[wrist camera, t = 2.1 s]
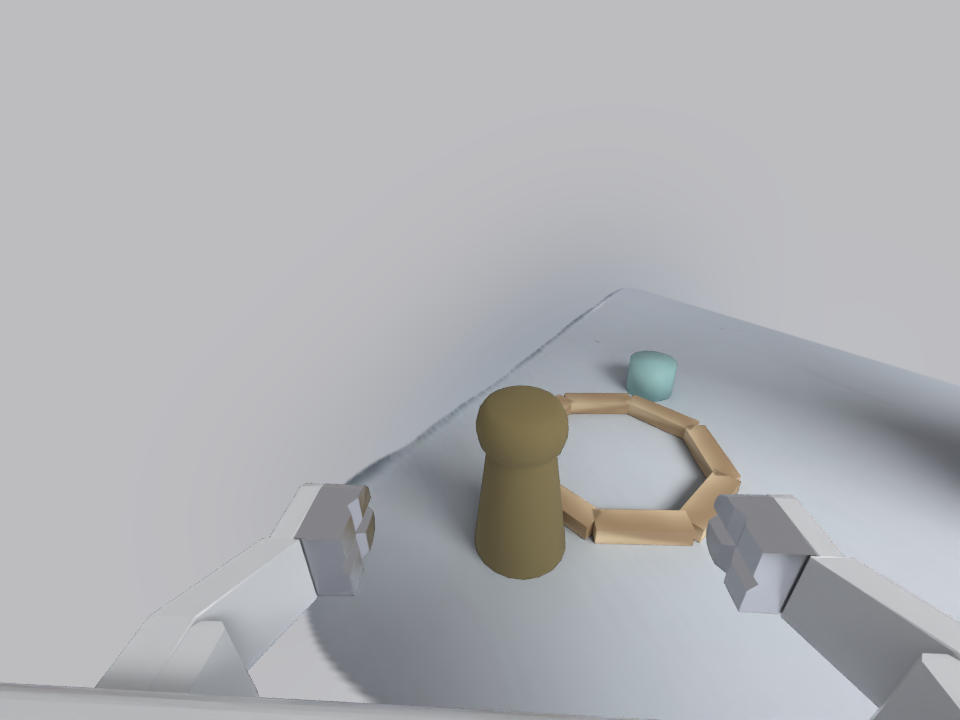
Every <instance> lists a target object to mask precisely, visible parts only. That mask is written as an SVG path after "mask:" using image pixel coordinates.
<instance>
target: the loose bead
mask: <svg viewBox="0 0 960 720" xmlns="http://www.w3.org/2000/svg"><path fill="white" fill-rule="evenodd" d="M676 368H677V362H676V360H675V359H674V358H672V357H671V356H669V355H666V354H663V353H660V352H654V351H641V352H637V353H634V354H633V355H632V356H631V360H630V366H629V373H628V379H627V385H626V389H627V391H628V392H629V393H630V394H631V395H633V396H634V395H637V396H639V397H642V398H644V399H647V400H649V401H663V400H666V399H668V398H669V397H670V396H671V392H672V387H673V382H674V378H675V373H676Z"/></svg>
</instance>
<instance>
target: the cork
mask: <svg viewBox="0 0 960 720" xmlns="http://www.w3.org/2000/svg"><path fill="white" fill-rule="evenodd" d="M568 429H569V428H568V417H567V413H566V411H565V409H564V407H563V406H562V404H561V403H560V401H559V400H558V398H557V397H555V396H554V395H553V394H551V393H550V392H547V391H545V390H543V389H540V388H536V387H531V386H510V387H506V388H503V389H499V390H497V391H495V392H493V393H492V394H490V395H489V396H488V397H487V398H486V399H485V400H484V402H483V403H482V405H481V406H480V408H479V412H478V416H477V420H476V432H477V436H478V439H479V442H480V445H481V448H482V449H483V450H484V451H485V453H486V457H485V464H484V472H483V479H482V487H481V494H480V502H479V509H478V517H477V524H476V532H475V544H476V550H477V552H478V554H479V556H480V557H481V559H482V561H483V562H484V563H485V564H486V565H487V566H488V567H490V568H491V569H492V570H493V571H494V572H496V573H499V574H501V575H503V576H506V577H508V578H515V579H523V580H525V579H531V578H537V577H540V576H542V575H544V574H546V573H548V572H550V571H552V570H553V569H554V568H555V566H556V565H557V564H558V563H559V562H560V561H561V559H562V556H563V554H564V551H565V532H564V522H563V511H562V501H561V491H560V480H559V470H558V460H557V456H558V455H559V454H560V453H561V451H562V449H563V447H564V445H565V442H566V440H567V438H568Z"/></svg>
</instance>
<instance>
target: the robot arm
mask: <svg viewBox="0 0 960 720" xmlns="http://www.w3.org/2000/svg"><path fill="white" fill-rule="evenodd" d="M370 498H371V496H370V492H369V488H368V487H367V486H363V485H343V484H314V483H305V484H304V485H302V486H301V487H300V488H299V490H298V491H297V493H296V494H295V496H294V498H293V500H292V501H291V503H290V504H289V506H288V508H287V509H286V511H285V513H284V514H283V516H282V518H281V519H280V521H279V522H278V524H277V526H276V528H275V529H274V531H273V532H272V534H271V536H270V537H269V538H262V539H261V540H259V541H258V542H256V543H255V544H254V545H252V546H250V547H249V548H248V549H246V550H245V551H243V552H242V553H240V554H239V555H238V556H236V557H234V558H233V559H232V560H230V561H229V562H227V563H226V564H224V565H223V566H221V567H220V568H218V569H217V570H215V571H214V572H213V573H211V574H210V575H208V576H207V577H205V578H204V579H202V580H201V581H200V582H198V583H197V584H195V585H194V586H192V587H191V588H189V589H188V590H186V591H185V592H184V593H182V594H180V595H179V596H178V597H176V598H175V599H173V600H172V601H171V602H169V603H167V604H166V605H165V606H163V607H161V608H160V609H159V610H157V611H156V612H154V613H153V614H151V615H150V616H149V617H148V618H147V620H146V621H145V622H144V624H143V625H142V626H141V628H140V629H139V630H138V632H137V633H136V634H135V635H134V637H133V638H132V639H131V641H130V642H129V643H128V645H127V646H126V647H125V649H124V650H123V651H122V652H121V654H120V655H119V656H118V658H117V659H116V660H115V662H114V663H113V664H112V666H111V667H110V668H109V670H108V671H107V672H106V673H105V675H104V676H103V677H102V679H101V680H100V681H99V683H98V684H97V685H96V687H95V688H85V687H67V686H50V685H31V684H15V683H0V720H655V719H638V718H620V717H603V716H585V715H567V714H549V713H531V712H513V711H495V710H477V709H459V708H441V707H423V706H405V705H387V704H370V703H350V702H333V701H314V700H298V699H279V698H262V697H261V698H260V697H259V695H258V692H257V689H256V687H255V685H254V684H253V682H252V679H251V678H250V675H249V674H248V672H247V671H248V670H249V669H250V668H251V666H252V665H253V664H254V663H255V662H256V661H257V660H258V659H259V658H260V657H261V656H262V655H263V654H264V653H265V652H266V651H267V650H268V649H269V648H270V647H271V646H272V644H274V643H275V641H276V640H277V639H278V638H279V637H280V636H281V635H282V634H283V633H284V632H285V631H286V630H287V629H288V628H289V627H290V626H291V625H292V624H293V623H294V622H295V621H296V620H297V619H298V618H299V616H300V615H301V614H302V613H303V612H304V611H305V610H306V609H307V608H308V607H309V606H310V605H311V604H312V603H313V602H314V601H315V600H316V599H317V596H355V593H356V590H357V587H358V584H359V581H360V578H361V575H362V572H363V570H364V568H363V563H362V558H363V557H364V556H365V555H366V554H368V553H369V552H370V549H371V545H372V542H373V537H374V531H375V518H374V512H373V510H372V509H371V508H369V507H368V504H369V501H370ZM713 507H714V509H715V511H716V512H717V515H715V516H714V517H713V518H712V519H710V520H709V521H708V525H707V529H706V541H707V546H708V550H709V553H710V555H711V557H712V560H713V562H714V564H716V565H717V566H718V567H719V568H721V569H722V570H723V571H724V572H726V576H725V579H724V584H725V586H726V588H727V590H728V592H729V594H730V596H731V598H732V600H733V602H734V604H735V606H736V608H737V610H738V612H752V613H766V614H781V617H782V618H783V619H784V620H785V621H786V622H787V623H788V624H789V625H790V626H791V627H792V628H793V629H794V630H796V631H797V632H798V633H799V634H800V635H801V636H802V637H803V638H804V639H805V640H806V641H807V642H808V643H810V644H811V645H812V646H813V647H814V648H815V649H816V650H817V651H818V652H819V653H820V654H821V655H822V656H824V657H825V658H826V659H827V660H828V661H829V662H830V663H831V664H832V665H833V666H834V667H835V668H836V669H837V670H839V671H840V672H841V673H842V674H843V675H844V676H845V677H846V678H847V679H848V680H849V681H850V682H851V683H853V684H854V685H855V686H856V687H857V688H858V689H859V690H860V691H861V692H862V693H863V694H864V695H865V696H867V697H868V698H869V699H870V700H871V701H872V702H873V703H874V704H875V705H876V706H877V707H878V710H877V711H876V712H875V713H874V715H873V716H872V717H871V718H870V720H960V622H959V621H957V620H955V619H954V618H952V617H950V616H949V615H947V614H945V613H944V612H942V611H940V610H939V609H937V608H936V607H934V606H932V605H931V604H929V603H927V602H926V601H924V600H922V599H921V598H919V597H917V596H916V595H914V594H913V593H911V592H909V591H908V590H906V589H904V588H903V587H901V586H899V585H898V584H896V583H894V582H893V581H891V580H889V579H888V578H886V577H885V576H883V575H881V574H880V573H878V572H876V571H875V570H873V569H871V568H870V567H868V566H866V565H865V564H863V563H861V562H860V561H858V560H857V559H855V558H850V557H845V556H844V555H843V553H842V552H841V551H840V550H839V549H838V547H837V546H836V545H835V544H834V543H833V541H832V540H831V539H830V538H829V537H828V535H827V534H826V533H825V532H824V531H823V529H822V528H821V527H820V526H819V525H818V523H817V522H816V521H815V520H814V518H813V517H812V516H811V515H810V514H809V512H808V511H807V510H806V509H805V508H804V506H803V505H802V504H801V503H800V502H799V500H798V499H796V498H795V497H793V496H792V495H750V494H720V495H719V496H718V497H717V498H716V500H715V503H714V506H713Z"/></svg>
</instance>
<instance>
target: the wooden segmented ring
mask: <svg viewBox="0 0 960 720" xmlns="http://www.w3.org/2000/svg"><path fill="white" fill-rule="evenodd" d="M555 397H557V398H558V400H559V401H560V403H561V404H562V406H563V407H564V409H565V411H566V413H567V415H569V414H629V415H631V416H633V417H635V418H637V419H639V420H642V421H644V422H646V423H648V424H650V425H653V426H655V427H657V428H659V429H661V430H664V431H666V432H668V433H670V434H672V435H675V436H677V437H679V438H681V439H683V440H684V442H685V444H686V445H687V447H688V449H689V450H690V452H691V454H692V455H693V457H694V459H695V461H696V462H697V464H698V466H699V467H700V469H701V471H702V472H703V474H704V476H705V477H706V480H705V481H704V483H703V484H702V485H701V486H700V487H699V488H698V489H697V491H696V492H695V493H694V494H693V495H692V496H691V497H690V499H689V500H688V501H687V502H686V503H685V504H684V506H683V507H682V508H681V509H680V510H631V509H597V508H596V507H594V506H593V505H591V504H590V503H588V502H587V501H585V500H584V499H582V498H581V497H579V496H577V495H576V494H574V493H573V492H571V491H570V490H568V489H567V488H565V487H564V486H562V485H561V484H560V491H561V501H562V511H563V522H564V525H566V526H567V527H568V528H570V529H571V530H572V531H574V532H575V533H577V534H578V535H579V536H581V537H582V538H583V539H585V540H586V539H587V538H588V537H589V536H590V535H591V534H592V533H593V537H594V541H595V543H604V544H644V545H683V546H692V545H693V542H694V539H695V540H696V541H698V542H701V541H702V540H703V538H704V537H705V536H706V529H707V525H708V521H709V520H710V519H712V518H713V517H714V516H715V515H717V512H716V511H715V509H714V507H713V506H714V503H715V500H716V498H717V497H718V496H719V495H720V494H737V492H738V490H739V487H740V484H741V481H739V479H740V474H739V473H738V471H737V470H736V469H735V467H734V466H733V464H732V463H731V462H730V460H729V459H728V457H727V456H726V454H725V453H724V452H723V450H722V449H721V447H720V446H719V444H718V443H717V442H716V440H715V439H714V437H713V436H712V434H711V433H710V432H709V430H708V429H707V427H706V426H705V425H699V422H700V421H697V420H695V419H692V418H690V417H688V416H685V415H683V414H680V413H678V412H676V411H673V410H671V409H668V408H666V407H664V406H661V405H659V404H656V403H654V402H652V401H649V400H647V399H644V398H642V397H639V396H637V395H634V396H632V397H631V398H630V396H629V394H628V393H565V395H564V397H563V396H561V395H557V396H555Z"/></svg>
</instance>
